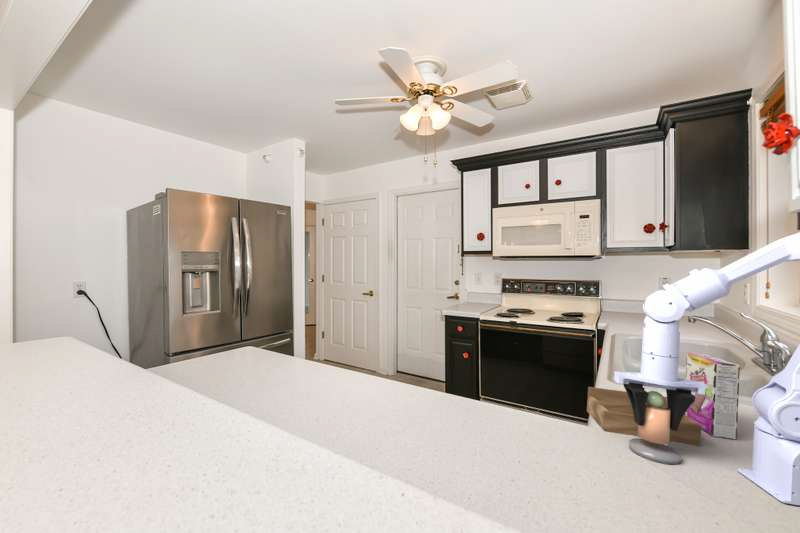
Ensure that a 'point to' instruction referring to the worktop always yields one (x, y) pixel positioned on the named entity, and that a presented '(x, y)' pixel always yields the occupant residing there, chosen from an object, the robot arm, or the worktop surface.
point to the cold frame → (632, 416)
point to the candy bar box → (714, 394)
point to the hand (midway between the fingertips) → (655, 426)
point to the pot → (655, 420)
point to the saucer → (655, 451)
